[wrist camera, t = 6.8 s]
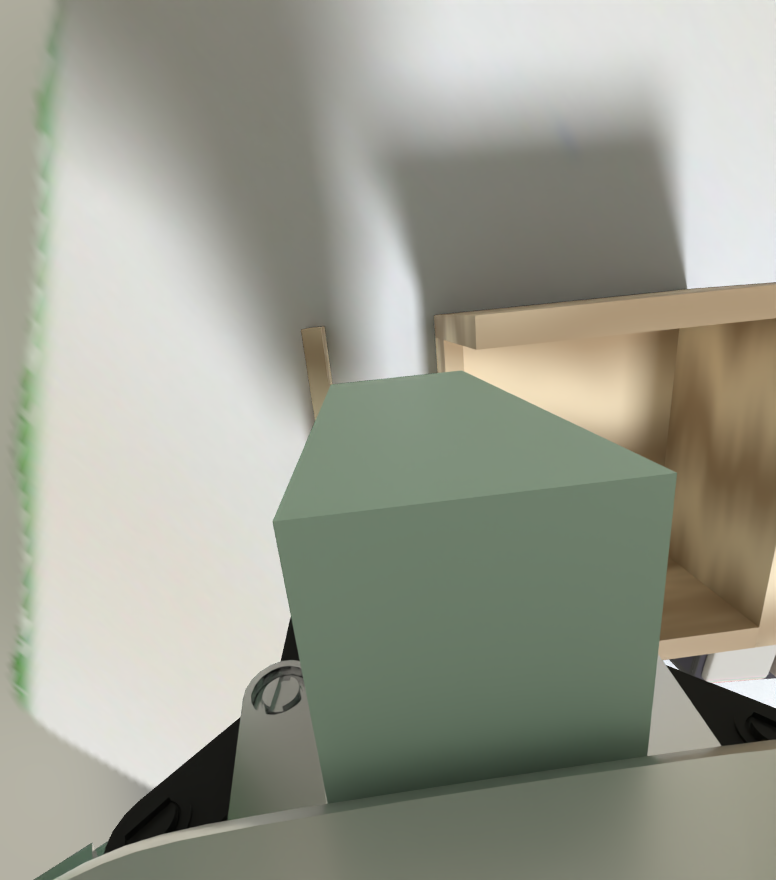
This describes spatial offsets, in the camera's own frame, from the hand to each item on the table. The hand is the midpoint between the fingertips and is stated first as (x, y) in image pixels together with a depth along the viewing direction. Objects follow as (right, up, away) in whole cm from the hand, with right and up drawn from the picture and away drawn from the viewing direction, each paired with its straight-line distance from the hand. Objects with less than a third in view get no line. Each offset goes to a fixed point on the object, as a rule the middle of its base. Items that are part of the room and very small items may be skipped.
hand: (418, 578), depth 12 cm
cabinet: (+5, +2, +10) cm, 11 cm away
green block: (0, 0, +1) cm, 1 cm away
